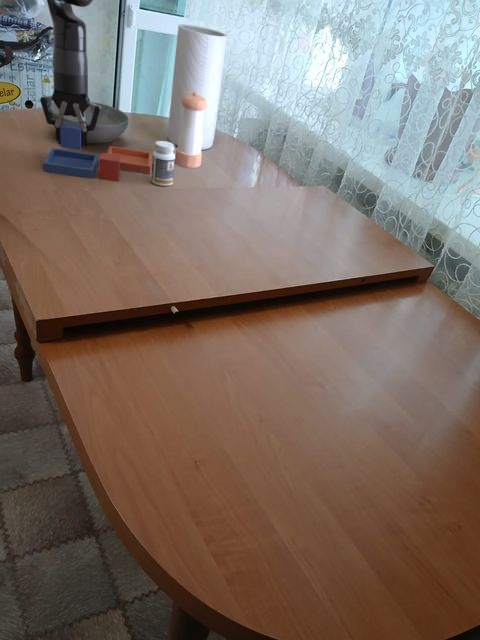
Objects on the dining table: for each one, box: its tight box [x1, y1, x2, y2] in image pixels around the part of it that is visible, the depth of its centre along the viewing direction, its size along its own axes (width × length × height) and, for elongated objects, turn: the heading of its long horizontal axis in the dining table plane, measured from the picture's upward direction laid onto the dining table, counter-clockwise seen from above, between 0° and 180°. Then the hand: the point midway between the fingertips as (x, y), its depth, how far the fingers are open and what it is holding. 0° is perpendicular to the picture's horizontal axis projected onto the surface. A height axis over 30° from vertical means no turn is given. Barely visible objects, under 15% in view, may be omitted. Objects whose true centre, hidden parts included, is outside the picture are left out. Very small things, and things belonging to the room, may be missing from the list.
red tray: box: [106, 145, 153, 175], centre depth 147 cm, size 12×12×2 cm
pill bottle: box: [150, 140, 176, 187], centre depth 138 cm, size 6×6×10 cm
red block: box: [98, 152, 121, 182], centre depth 136 cm, size 5×5×5 cm
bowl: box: [50, 101, 130, 145], centre depth 154 cm, size 21×21×8 cm
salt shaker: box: [175, 92, 208, 169], centre depth 151 cm, size 7×7×19 cm
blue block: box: [60, 121, 82, 151], centre depth 133 cm, size 5×5×5 cm
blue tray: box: [42, 147, 100, 179], centre depth 137 cm, size 12×12×2 cm
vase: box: [167, 23, 228, 151], centre depth 162 cm, size 14×14×32 cm
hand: (71, 144), depth 134 cm, fingers closed on blue block, 4 cm apart
